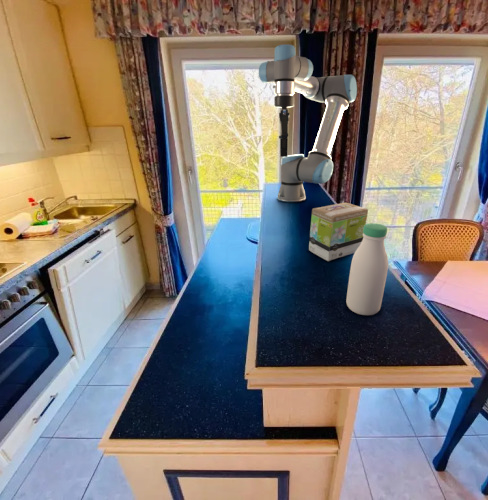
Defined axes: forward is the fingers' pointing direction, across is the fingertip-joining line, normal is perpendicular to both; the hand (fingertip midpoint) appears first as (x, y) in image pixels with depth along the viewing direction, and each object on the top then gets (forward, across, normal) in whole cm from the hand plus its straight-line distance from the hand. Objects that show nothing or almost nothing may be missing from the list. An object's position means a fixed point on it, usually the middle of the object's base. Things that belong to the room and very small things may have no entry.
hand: (283, 154), depth 115 cm
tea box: (+27, +36, +17) cm, 48 cm away
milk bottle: (+27, +66, +18) cm, 74 cm away
